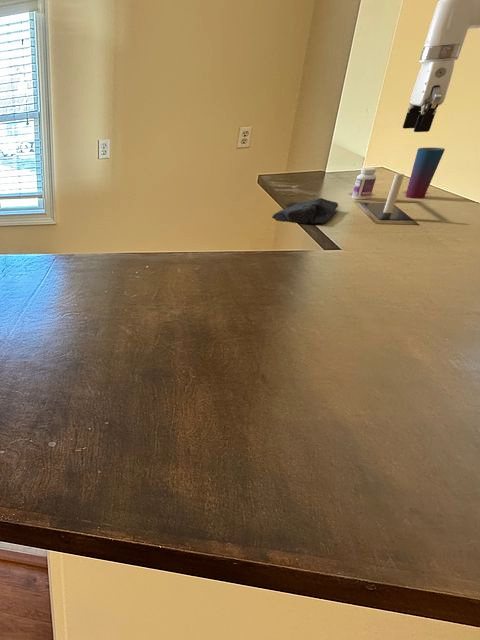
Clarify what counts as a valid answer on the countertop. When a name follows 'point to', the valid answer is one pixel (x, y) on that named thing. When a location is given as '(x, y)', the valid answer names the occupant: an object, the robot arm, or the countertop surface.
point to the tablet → (376, 211)
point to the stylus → (392, 195)
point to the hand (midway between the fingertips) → (415, 129)
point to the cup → (423, 171)
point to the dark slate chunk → (308, 212)
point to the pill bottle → (364, 184)
